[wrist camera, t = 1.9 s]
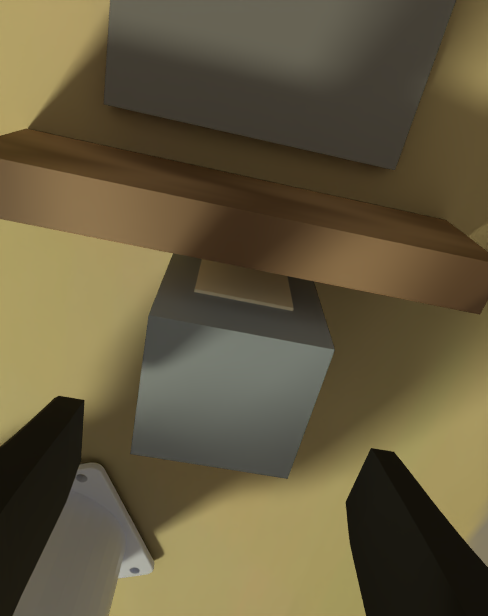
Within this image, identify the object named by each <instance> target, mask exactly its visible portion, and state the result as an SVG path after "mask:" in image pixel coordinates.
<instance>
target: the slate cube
mask: <svg viewBox="0 0 488 616" xmlns="http://www.w3.org/2000/svg"><path fill="white" fill-rule="evenodd" d="M334 351H335V349H334V346H333V342H332V339H331V336H330V333H329V329H328V326H327V323H326V320H325V317H324V313H323V310H322V307H321V304H320V300H319V297H318V294H317V291H316V288H315V284H314V281H310V280H305V279H300V278H295V277H290V276H285V275H280V274H275V273H270V272H265V271H260V270H255V269H250V268H245V267H240V266H235V265H230V264H225V263H220V262H214V261H209V260H204V259H199V258H194V257H189V256H184V255H179V254H174V253H173V255H172V258H171V260H170V263H169V265H168V268H167V270H166V273H165V275H164V278H163V280H162V283H161V285H160V288H159V290H158V293H157V295H156V298H155V300H154V303H153V305H152V308H151V311H150V313H149V316H148V324H147V332H146V339H145V347H144V355H143V362H142V370H141V377H140V385H139V393H138V400H137V408H136V416H135V423H134V431H133V438H132V446H131V454H134V455H140V456H147V457H153V458H159V459H166V460H172V461H178V462H185V463H191V464H197V465H204V466H210V467H217V468H223V469H229V470H236V471H242V472H248V473H255V474H261V475H267V476H274V477H280V478H286V479H288V476H289V474H290V471H291V468H292V465H293V463H294V460H295V457H296V454H297V452H298V449H299V446H300V443H301V441H302V438H303V435H304V433H305V430H306V427H307V424H308V422H309V419H310V416H311V413H312V411H313V408H314V405H315V403H316V400H317V397H318V394H319V392H320V389H321V386H322V383H323V381H324V378H325V375H326V373H327V370H328V367H329V364H330V362H331V359H332V356H333V353H334Z"/></svg>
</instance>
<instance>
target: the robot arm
mask: <svg viewBox="0 0 488 616" xmlns="http://www.w3.org/2000/svg"><path fill="white" fill-rule="evenodd" d="M83 416H84V400H81V399H75V398H69V397H63V396H58V397H56V398H54V399H53V400H52V401H51V402H50V403H49V404H48V405H47V406H46V407H45V408H43V409H42V410H41V411H40V412H39V413H38V414H37V415H36V416H35V417H34V418H33V419H32V420H30V421H29V422H28V423H27V424H26V425H25V426H24V427H23V428H22V429H20V430H19V431H18V432H17V433H16V434H15V435H14V436H12V437H11V438H10V439H9V440H8V441H7V442H5V443H4V444H3V445H2V446H1V447H0V616H109V612H110V608H111V604H112V600H113V596H114V592H115V588H116V584H117V580H118V578H125V577H131V576H138V575H145V574H149V573H151V572H152V571H153V569H154V560H153V559H152V557H151V555H150V553H149V551H148V549H147V547H146V545H145V544H144V542H143V540H142V538H141V536H140V534H139V532H138V531H137V529H136V527H135V525H134V523H133V521H132V519H131V517H130V516H129V514H128V512H127V510H126V508H125V506H124V504H123V503H122V501H121V499H120V497H119V495H118V493H117V491H116V490H115V488H114V486H113V484H112V482H111V480H110V478H109V476H108V475H107V473H106V471H105V469H104V468H103V466H102V465H100V464H98V463H85V464H80V462H81V449H82V432H83ZM82 474H83V475H82ZM346 510H347V522H348V531H349V539H350V546H351V551H352V555H353V560H354V564H355V569H356V573H357V578H358V582H359V586H360V591H361V595H362V599H363V604H364V608H365V612H366V616H488V567H487V566H486V565H485V564H484V563H483V561H482V560H481V559H480V558H479V557H478V556H477V555H476V554H475V552H474V551H473V550H472V549H471V548H470V547H469V545H468V544H467V543H466V542H465V541H464V539H463V538H462V537H461V536H460V535H459V534H458V532H457V531H456V530H455V529H454V527H453V526H452V525H451V524H450V523H449V521H448V520H447V519H446V518H445V516H444V515H443V514H442V513H441V511H440V510H439V509H438V508H437V506H436V505H435V504H434V502H433V501H432V500H431V499H430V497H429V496H428V495H427V493H426V492H425V491H424V490H423V488H422V487H421V486H420V484H419V483H418V482H417V481H416V479H415V478H414V477H413V475H412V474H411V473H410V471H409V470H408V469H407V468H406V466H405V465H404V464H403V462H402V461H401V460H400V459H399V458H398V456H397V455H396V454H395V453H394V452H391V451H385V450H379V449H373V448H371V449H370V451H369V454H368V456H367V458H366V460H365V462H364V464H363V466H362V468H361V471H360V473H359V475H358V477H357V479H356V481H355V483H354V485H353V488H352V490H351V492H350V494H349V496H348V498H347V500H346Z"/></svg>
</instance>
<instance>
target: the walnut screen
mask: <svg viewBox="0 0 488 616" xmlns="http://www.w3.org/2000/svg"><path fill="white" fill-rule="evenodd" d="M0 219H4V220H9V221H14V222H19V223H24V224H29V225H34V226H39V227H44V228H49V229H54V230H59V231H64V232H69V233H74V234H79V235H84V236H89V237H94V238H99V239H104V240H109V241H114V242H119V243H124V244H129V245H134V246H139V247H144V248H149V249H154V250H159V251H164V252H169V253H174V254H179V255H184V256H189V257H194V258H199V259H204V260H209V261H214V262H220V263H225V264H230V265H235V266H240V267H245V268H250V269H255V270H260V271H265V272H270V273H275V274H280V275H285V276H290V277H295V278H300V279H305V280H310V281H315V282H320V283H325V284H330V285H335V286H340V287H345V288H350V289H355V290H360V291H365V292H370V293H375V294H380V295H385V296H390V297H395V298H400V299H405V300H410V301H415V302H420V303H425V304H430V305H435V306H440V307H445V308H450V309H455V310H460V311H465V312H470V313H475V314H481V312H482V310H483V308H484V306H485V304H486V302H487V300H488V252H487V251H486V250H485V249H483V248H482V247H481V246H479V245H478V244H477V243H475V242H474V241H473V240H472V239H470V238H469V237H468V236H466V235H465V234H464V233H462V232H461V231H460V230H458V229H457V228H456V227H454V226H453V225H452V224H451V223H449V222H448V221H447V220H443V219H438V218H433V217H429V216H424V215H420V214H415V213H411V212H406V211H401V210H397V209H392V208H388V207H383V206H378V205H374V204H369V203H365V202H360V201H356V200H351V199H346V198H342V197H337V196H333V195H328V194H324V193H319V192H314V191H310V190H305V189H301V188H296V187H292V186H287V185H282V184H278V183H273V182H269V181H264V180H259V179H255V178H250V177H246V176H241V175H237V174H232V173H227V172H223V171H218V170H214V169H209V168H205V167H200V166H195V165H191V164H186V163H182V162H177V161H172V160H168V159H163V158H159V157H154V156H150V155H145V154H140V153H136V152H131V151H127V150H122V149H118V148H113V147H108V146H104V145H99V144H95V143H90V142H85V141H81V140H76V139H72V138H67V137H63V136H58V135H53V134H49V133H44V132H40V131H35V130H31V129H23V130H20V131H16V132H12V133H9V134H5V135H2V136H0Z"/></svg>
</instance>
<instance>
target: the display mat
mask: <svg viewBox="0 0 488 616" xmlns="http://www.w3.org/2000/svg"><path fill="white" fill-rule="evenodd" d="M455 2H456V0H110V11H109V27H108V43H107V59H106V75H105V91H104V104H105V105H109V106H114V107H118V108H123V109H127V110H131V111H136V112H140V113H145V114H149V115H153V116H158V117H162V118H167V119H171V120H176V121H180V122H184V123H189V124H193V125H198V126H202V127H206V128H211V129H215V130H220V131H224V132H228V133H233V134H237V135H242V136H246V137H250V138H255V139H259V140H264V141H268V142H273V143H277V144H281V145H286V146H290V147H295V148H299V149H303V150H308V151H312V152H317V153H321V154H325V155H330V156H334V157H339V158H343V159H348V160H352V161H356V162H361V163H365V164H370V165H374V166H378V167H383V168H387V169H392V170H395V169H396V166H397V163H398V160H399V158H400V155H401V152H402V149H403V146H404V144H405V141H406V138H407V135H408V133H409V130H410V127H411V124H412V121H413V119H414V116H415V113H416V110H417V108H418V105H419V102H420V99H421V96H422V94H423V91H424V88H425V85H426V83H427V80H428V77H429V74H430V71H431V69H432V66H433V63H434V60H435V58H436V55H437V52H438V49H439V46H440V44H441V41H442V38H443V35H444V33H445V30H446V27H447V24H448V21H449V19H450V16H451V13H452V10H453V8H454V5H455Z"/></svg>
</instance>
